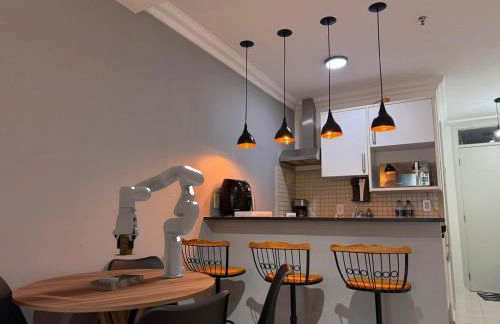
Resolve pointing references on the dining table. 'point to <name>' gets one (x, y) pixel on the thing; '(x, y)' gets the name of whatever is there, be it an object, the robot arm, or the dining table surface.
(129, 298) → the dining table surface
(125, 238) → the condiment
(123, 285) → the caddy
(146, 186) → the robot arm
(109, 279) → the painted block
